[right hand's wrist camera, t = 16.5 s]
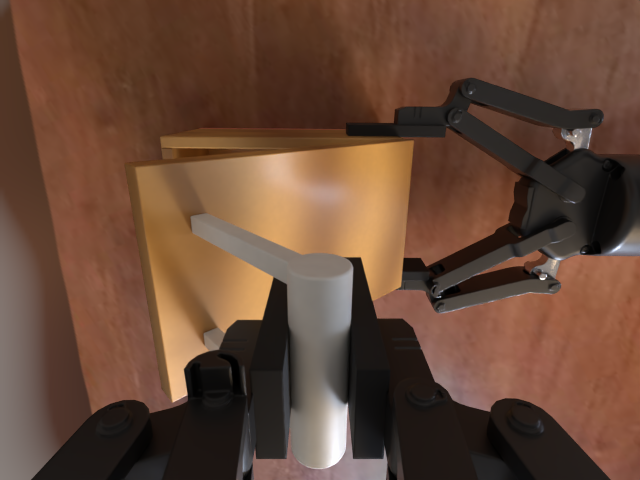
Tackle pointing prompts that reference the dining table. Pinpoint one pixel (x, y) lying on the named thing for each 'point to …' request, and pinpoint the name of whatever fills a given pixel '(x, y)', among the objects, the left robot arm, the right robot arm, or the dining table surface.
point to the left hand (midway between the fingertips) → (344, 203)
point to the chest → (252, 140)
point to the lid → (272, 260)
